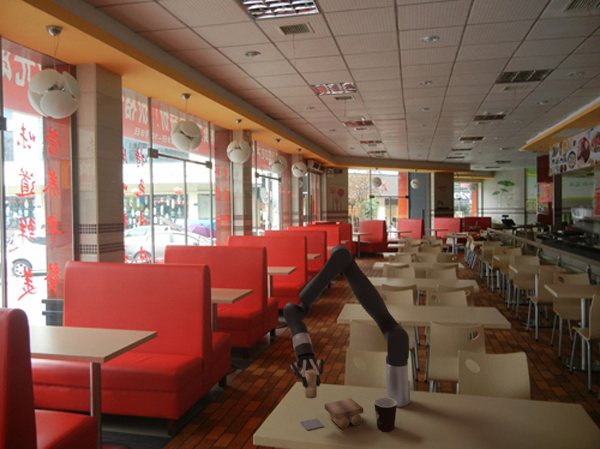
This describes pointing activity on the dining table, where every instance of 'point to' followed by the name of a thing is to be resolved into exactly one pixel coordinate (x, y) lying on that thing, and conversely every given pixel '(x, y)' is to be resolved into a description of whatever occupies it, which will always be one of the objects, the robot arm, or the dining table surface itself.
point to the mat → (312, 424)
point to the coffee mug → (385, 413)
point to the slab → (344, 412)
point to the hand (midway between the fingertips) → (312, 386)
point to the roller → (311, 383)
